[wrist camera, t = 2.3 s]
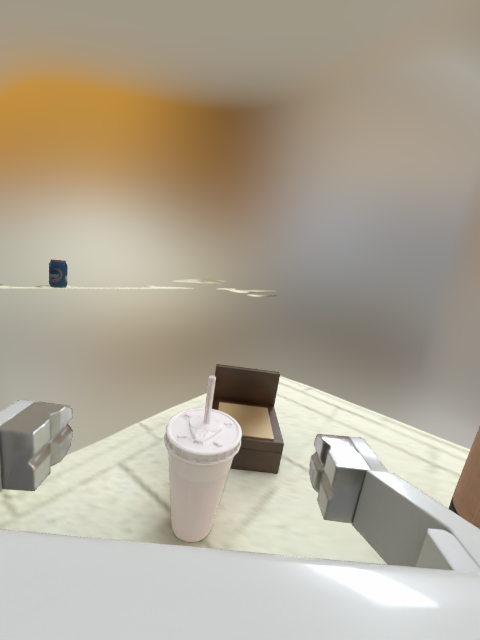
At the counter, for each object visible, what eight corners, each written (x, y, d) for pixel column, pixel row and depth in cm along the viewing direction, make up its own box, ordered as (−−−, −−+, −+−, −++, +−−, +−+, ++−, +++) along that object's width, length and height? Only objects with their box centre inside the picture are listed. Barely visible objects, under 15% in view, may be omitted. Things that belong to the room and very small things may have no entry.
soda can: (46, 286, 122) (46, 259, 120) (53, 284, 129) (53, 259, 127) (63, 288, 124) (63, 261, 122) (69, 286, 131) (69, 261, 128)
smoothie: (232, 499, 27) (253, 371, 25) (220, 568, 21) (246, 407, 18) (171, 486, 28) (184, 359, 25) (142, 549, 22) (156, 390, 19)
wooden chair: (201, 465, 31) (211, 394, 30) (209, 420, 40) (216, 363, 38) (278, 473, 32) (292, 404, 30) (268, 427, 41) (279, 372, 39)
